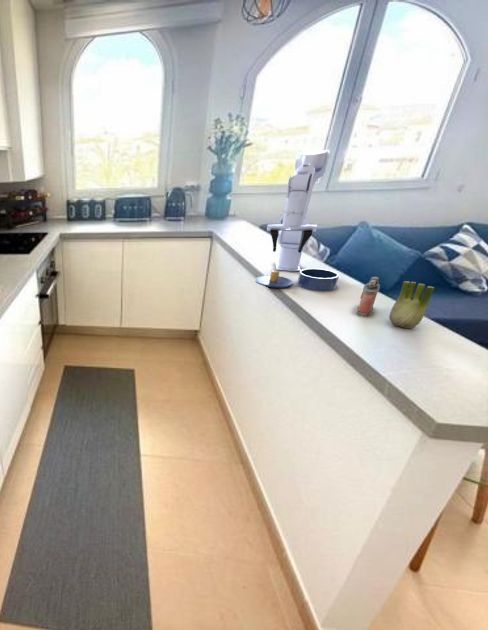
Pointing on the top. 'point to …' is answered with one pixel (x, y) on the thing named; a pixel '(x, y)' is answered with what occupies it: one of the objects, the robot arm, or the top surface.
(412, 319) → the fennel bulb
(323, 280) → the bowl
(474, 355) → the top surface
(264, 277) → the tin lid
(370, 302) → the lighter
